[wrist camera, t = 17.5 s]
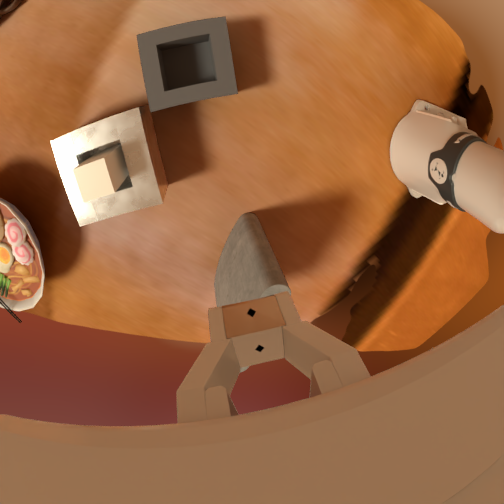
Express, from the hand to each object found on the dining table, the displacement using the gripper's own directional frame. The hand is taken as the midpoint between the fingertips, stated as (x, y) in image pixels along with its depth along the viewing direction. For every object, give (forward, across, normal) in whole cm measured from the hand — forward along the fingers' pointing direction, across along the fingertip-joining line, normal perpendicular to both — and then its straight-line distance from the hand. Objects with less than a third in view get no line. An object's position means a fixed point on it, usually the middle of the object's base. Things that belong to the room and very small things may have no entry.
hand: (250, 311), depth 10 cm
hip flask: (+31, 0, +18) cm, 36 cm away
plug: (+30, +13, -2) cm, 33 cm away
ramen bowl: (+31, +39, +4) cm, 50 cm away
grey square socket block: (+31, +1, -12) cm, 33 cm away
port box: (+31, +13, -2) cm, 34 cm away
